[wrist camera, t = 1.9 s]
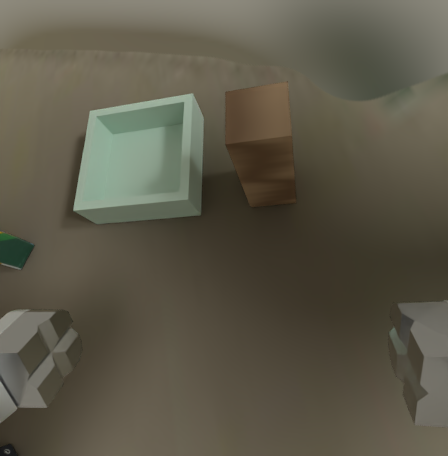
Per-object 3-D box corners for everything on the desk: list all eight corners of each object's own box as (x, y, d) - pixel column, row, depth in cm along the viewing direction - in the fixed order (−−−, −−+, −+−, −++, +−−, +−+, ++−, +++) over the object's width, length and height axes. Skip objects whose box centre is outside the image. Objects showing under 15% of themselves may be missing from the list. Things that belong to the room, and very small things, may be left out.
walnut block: (293, 162, 30) (287, 81, 20) (296, 203, 28) (292, 135, 19) (249, 167, 30) (225, 91, 21) (250, 207, 29) (225, 144, 20)
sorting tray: (203, 118, 34) (192, 93, 30) (201, 215, 30) (188, 199, 27) (109, 132, 36) (90, 111, 33) (96, 224, 32) (73, 210, 29)
